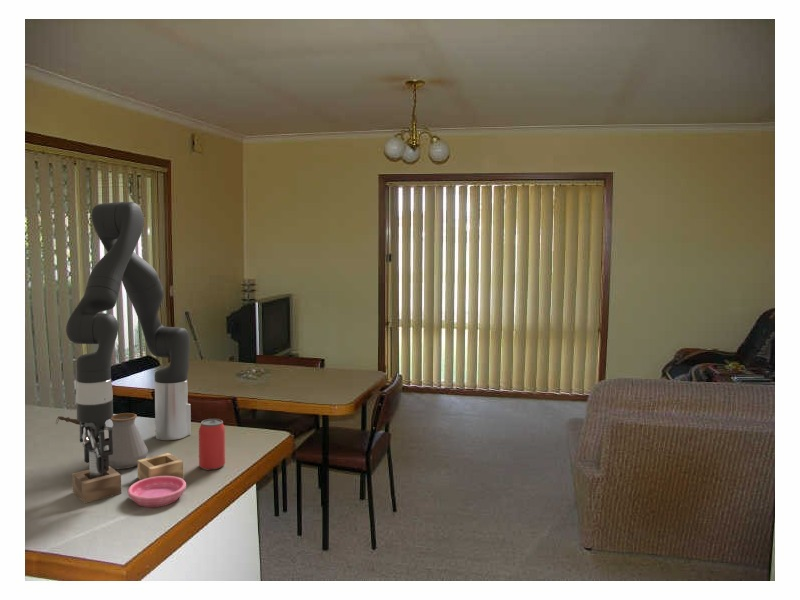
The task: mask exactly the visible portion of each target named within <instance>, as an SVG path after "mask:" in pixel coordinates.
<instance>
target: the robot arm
mask: <svg viewBox="0 0 800 600" xmlns="http://www.w3.org/2000/svg"><path fill="white" fill-rule="evenodd" d="M144 218H145V217H144V213H143V211H142V209H141V207H140V206H139V204H137V203H136V202H134V201H133V202H132V201H119V202H117V201H116V202H107V203H99V204H96V205H95V206H94V207H93V208H92V211H91V221H92V222H91V223H92V226H93V228H94V231H95V232H96V235H97V237H98V239H99V240H100V242H101V244H102V245H103V247H104V249H105V251H106V252H107V253H105V255H103V256H102V257H101V259H100V260H99V261H98V262H97V263H96V264H95V265H94V267H93V268H92V270H91V272H90V274H89V277H88V280H87V284H86V287H85V290H84V294H83V296H82V298H81V299H80V301H79V302H78V303H77V305H76V307H75V309H74V310H73V311H72V313H71V314H70V317H69V318H68V320H67V323H66V327H65V328H66V329H65V332H66V336H67V339H68V340H69V341H70V342H71V343H74V344H76V345H78V344H79V345H98V347H97V350H96V351H94V352H90V353H85V354H82V355H79V356H78V358H77V359H76V390H75V403H76V419H77V420H78V421H79V422H80V425H79V443H81V444H82V447H83V451H84V452H83V455H84V456H83V458H84V459H83V460H84V463H86V464H89V452H90V451H91V450H96V453H97V467H98V472H99V473H103V472H107V471H108V470H109V456H108V455H112V454H113V442H112V429H107V427H108V426H106V424H107V423H106V422H107V421H108V420H110V419H111V418H112V417H113V415H114V404H113V403H114V400H113V399H114V397H113V395H114V394H113V391H114V390H113V384H112V373H111V372H112V371H111V370H112V369H111V368H112V365H111V364H112V357H113V351H114V347H115V344H116V341H117V337H118V334H119V328H120V327H119V322H118V320H117V318H116V317H115V316H114V315H113V314H111V313H107V312H106V313H104V312H105V311H109V310H112V309H113V308H114V307H116V304H117V302H118V297H119V293H120V288H121V284H122V286H123V287H124V290H125V293H126V294H127V297H128V298H129V301H130V303H131V304H132V306H133V307H132V308H133V309H134V311H135V314H136V316H137V319H138V321H139V323H140V327H141V329H142V332H143V333H142V334H143V336H144V340H145V342H146V343H145V344H146V346H147V348H148V350H149V352H150V353H151V354H152V356H155V357H157V358H162V359H163V358H165V359H166V358H167V359H170V363H169V365H168V366H165V367H163V368H160V369H157V370H156V371H155V373H154V414H155V415H154V417H155V420H154V421H155V423H154V424H155V429H154V430H155V438H156V439H157V440H162V441H173V440H174V441H175V440H180V439H183V438H186V437H187V436H190V435H192V433H191V432H192V431H191V430H192V429H191V428H192V427H191V426H192V424H191V423H192V422H191V420H192V417H191V415H192V413H191V408H192V407H191V403H189V402H188V401H189V400H188V399H189V397H188V391H189V389H188V374H189V369H190V350H191V338H190V334H189V331H188V330H187V329H186V328H184V327H175V326H164V325H163V324H162V322H161V319H160V318H159V311H160V308H161V305H162V304H163V300H164V295H165V292H164V287H163V284H162V282H161V279H160V277H159V274H158V272H157V271H156V270H155V267H153V266H152V265H151V264H150V263H149V262H148V261H146V260H145V259H144V258H142V257H141V256H139V255H138V254H137V253H136V252H135V249H136V246H137V244H138V242H139V241H140V239H141V236H142V233H143V230H144V225H145V223H144V221H145V220H144ZM102 312H103V313H102ZM108 445H109V447H108ZM104 448H105V451H104Z"/></svg>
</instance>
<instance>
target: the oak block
mask: <svg viewBox="0 0 800 600" xmlns="http://www.w3.org/2000/svg"><path fill="white" fill-rule="evenodd" d="M137 462H138V465H137V479H139V481H140V480H143V479H146V478H150V477H156V476H174V477H179V478H181V479H183V480H184V461H183V460H182V459H180V458H178V457H176V456H175V455H173V454H171V453H170V452H166V453H163V454H162V453H161V454H159V455H154V456H153V455H152V456H150V457H145V458H144V459H141V460H137Z"/></svg>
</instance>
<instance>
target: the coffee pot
mask: <svg viewBox="0 0 800 600" xmlns="http://www.w3.org/2000/svg"><path fill="white" fill-rule="evenodd" d="M137 417H138V415H137V414H136V413H133V412H121V413H117V414H113V417H112V418H111V419H109V420H110V421H111V422H112V426H106V427H107V429H112V442H113V454H112V455H108V456H109V466H110V467H111V468H113V469H114V470H121V469H130V468H133V467H137V466H138V462H137V460H141V459H145V458H147V457H146V456H147V455H148V452H149V450H148V447H147V445H146V444H145V441H144V439H143V437H142V435H141V434H140V431H139V428H137V425H136V424H135V420H136V418H137ZM59 420H60V421H65V422H66V423H69V422H70V423H73V424H75V425H78V426H80V422H79V421H78V420H77V418H70V417H69V416H68V417H64V416H62V415H61V416H58V417H57V418H56V421H55V425H57V424H59ZM108 447H109V445H108ZM104 451H105V448H104Z"/></svg>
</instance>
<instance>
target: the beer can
mask: <svg viewBox="0 0 800 600" xmlns="http://www.w3.org/2000/svg"><path fill="white" fill-rule="evenodd" d="M225 464H226V429H225V425H224V421H223V420H222V419H220V418H208V419H204V420H202V421H201V422H200V426H199V428H198V465H199V467H200V468H201V469H203V470H209V471H210V470H217V469H220V468H222V467H224V465H225Z"/></svg>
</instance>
